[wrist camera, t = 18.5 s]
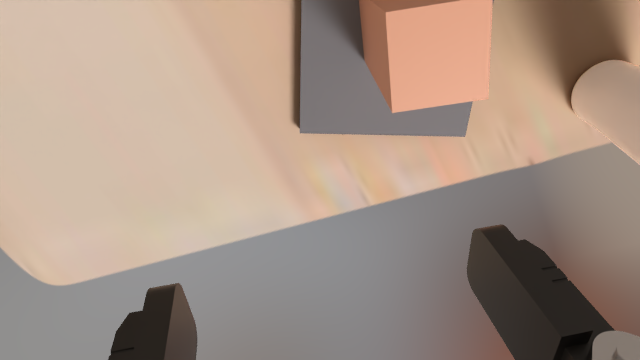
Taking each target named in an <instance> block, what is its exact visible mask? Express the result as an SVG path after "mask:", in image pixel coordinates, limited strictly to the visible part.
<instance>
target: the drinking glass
mask: <svg viewBox="0 0 640 360" xmlns="http://www.w3.org/2000/svg"><path fill="white" fill-rule="evenodd" d="M571 105H572V108H573V111H574V112H575V114H576V115H577V116H578V117H579V118H580V119H581V120H583V121H584V122H586V123H587V124H589V125H591V126H592V127H593V128H595V129H596V130H597V131H599V132H600V133H601V134H602V135H604V136H605V137H606V138H607V139H609V140H610V141H611V142H612V143H614V144H615V145H616V146H617V147H618V148H620V149H621V150H622V151H624V152H625V153H626V154H627V155H628V156H630V157H631V158H632V159H633V160H634V161H636V162H637V163H638V164H639V165H640V66H638V65H635V64H632V63H629V62H626V61H623V60H607V61H603V62H600V63H598V64H596V65H594V66H592V67H591V68H589V69H588V70H587V71H585V72H584V73H583V74H582V75H581V77H580V78H579V79H578V81H577V82H576V84H575V86H574V88H573V91H572V95H571Z"/></svg>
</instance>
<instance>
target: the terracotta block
mask: <svg viewBox="0 0 640 360" xmlns="http://www.w3.org/2000/svg"><path fill="white" fill-rule="evenodd" d="M492 4H493V0H359V8H360V18H361V29H362V39H363V50H364V61H365V63H366V65H367V67H368V68H369V70H370V72H371V74H372V76H373V78H374V80H375V82H376V83H377V85H378V87H379V89H380V91H381V93H382V95H383V97H384V98H385V100H386V102H387V104H388V106H389V108H390V110H391V112H392V113H396V112H403V111H409V110H416V109H423V108H430V107H437V106H443V105H450V104H457V103H464V102H470V101H477V100H484V99H488V94H489V72H490V49H491V26H492Z"/></svg>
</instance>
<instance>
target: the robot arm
mask: <svg viewBox="0 0 640 360" xmlns="http://www.w3.org/2000/svg"><path fill="white" fill-rule="evenodd" d="M467 275H468V280H469V283H470V286H471V288H472V290H473V292H474V294H475V295H476V297H477V299H478V300H479V302H480V303H481V305H482V307H483V308H484V310H485V312H486V313H487V315H488V316H489V318H490V320H491V321H492V323H493V325H494V326H495V328H496V329H497V331H498V333H499V334H500V336H501V337H502V339H503V341H504V342H505V344H506V346H507V347H508V349H509V351H510V352H511V354H512V355H513V357H514V359H515V360H640V337H638V336H636V335H633V334H630V333H626V332H622V331H615V330H614V329H613V328H612V327H611V326H610V325H609V324H608V323H607V321H606V320H605V319H604V318H603V317H602V316H601V315H600V314H599V312H598V311H597V310H596V309H595V308H594V307H593V306H592V305H591V303H590V302H589V301H588V300H587V299H586V298H585V297H584V296H583V295H582V293H581V292H580V291H579V290H578V289H577V288H576V287H575V286H574V284H572V282H571V281H568V279H567V277H566V275H565V274H564V273H563V272H562V271H561V270H560V269H559V268H557V266H556V264H555V263H554V262H553V261H552V260H551V259H550V258H549V256H548V255H547V254H546V253H545V252H544V251H543V250H541V249H540V248H538V247H537V246H535V245H533V244H531V243H530V242H528V241H527V240H520V241H518V240H517V239H516V238H515V237H514V235H513V234H512V233H511V232H510V231H509V230H508V228H507V227H506V226H504V225H495V226H490V227H484V228H479V229H475V230H474V231H473V233H472V239H471V245H470V252H469V259H468V265H467ZM196 352H197V331H196V324H195V320H194V318H193V315H192V312H191V310H190V307H189V304H188V302H187V299H186V296H185V294H184V291H183V288H182V286H181V285H180V284H179V283H176V284H171V285H166V286H159V287H155V288H149V289H148V291H147V294H146V298H145V303H144V307H143V311H138V312H132V313H129V315H128V316H127V317H126V319H125V320H124V321H123V323H122V324H121V326H120V327H119V328H118V330H117V331H116V334H115V338H114V342H113V345H112V348H111V355H110V356H109V359H108V360H196Z"/></svg>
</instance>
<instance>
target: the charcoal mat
mask: <svg viewBox="0 0 640 360" xmlns="http://www.w3.org/2000/svg"><path fill="white" fill-rule="evenodd" d="M493 1H494V0H493ZM492 6H493V4H492ZM471 106H472V101H470V102H464V103H457V104H450V105H443V106H437V107H430V108H423V109H416V110H409V111H403V112H396V113H392V112H391V110H390V108H389V106H388V104H387V102H386V100H385V98H384V97H383V95H382V93H381V91H380V89H379V87H378V85H377V83H376V82H375V80H374V78H373V76H372V74H371V72H370V70H369V68H368V67H367V65H366V63H365V61H364V50H363V39H362V29H361V18H360V8H359V0H301V78H300V133H315V134H363V135H410V136H457V137H465V135H466V130H467V125H468V121H469V116H470V111H471Z"/></svg>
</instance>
